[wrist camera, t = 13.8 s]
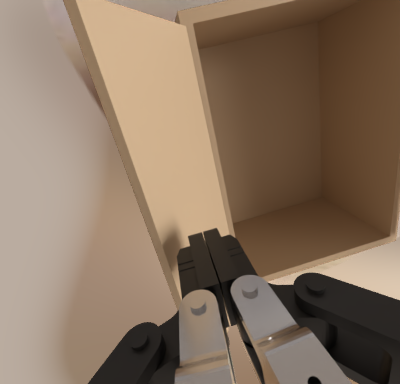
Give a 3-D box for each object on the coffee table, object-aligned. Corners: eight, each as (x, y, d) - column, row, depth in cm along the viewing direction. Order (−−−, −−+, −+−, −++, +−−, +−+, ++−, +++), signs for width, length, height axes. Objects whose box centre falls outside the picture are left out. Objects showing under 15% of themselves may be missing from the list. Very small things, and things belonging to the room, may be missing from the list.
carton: (167, 49, 26) (176, 11, 15) (319, 14, 27) (431, -45, 16) (211, 231, 35) (237, 291, 24) (323, 198, 37) (395, 240, 26)
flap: (185, 26, 15) (178, 28, 15) (71, -11, 7) (61, -5, 8) (240, 287, 23) (235, 286, 23) (212, 388, 16) (205, 386, 16)
